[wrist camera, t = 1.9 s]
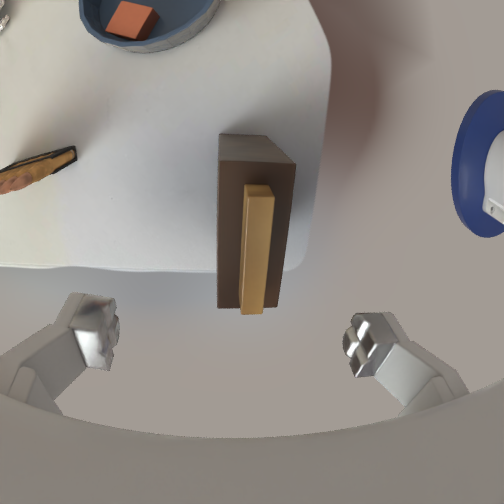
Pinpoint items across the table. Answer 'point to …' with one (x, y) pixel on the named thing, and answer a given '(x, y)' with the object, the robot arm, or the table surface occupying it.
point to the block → (132, 21)
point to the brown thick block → (231, 210)
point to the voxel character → (1, 23)
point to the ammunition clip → (35, 169)
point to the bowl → (165, 30)
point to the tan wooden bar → (255, 246)
